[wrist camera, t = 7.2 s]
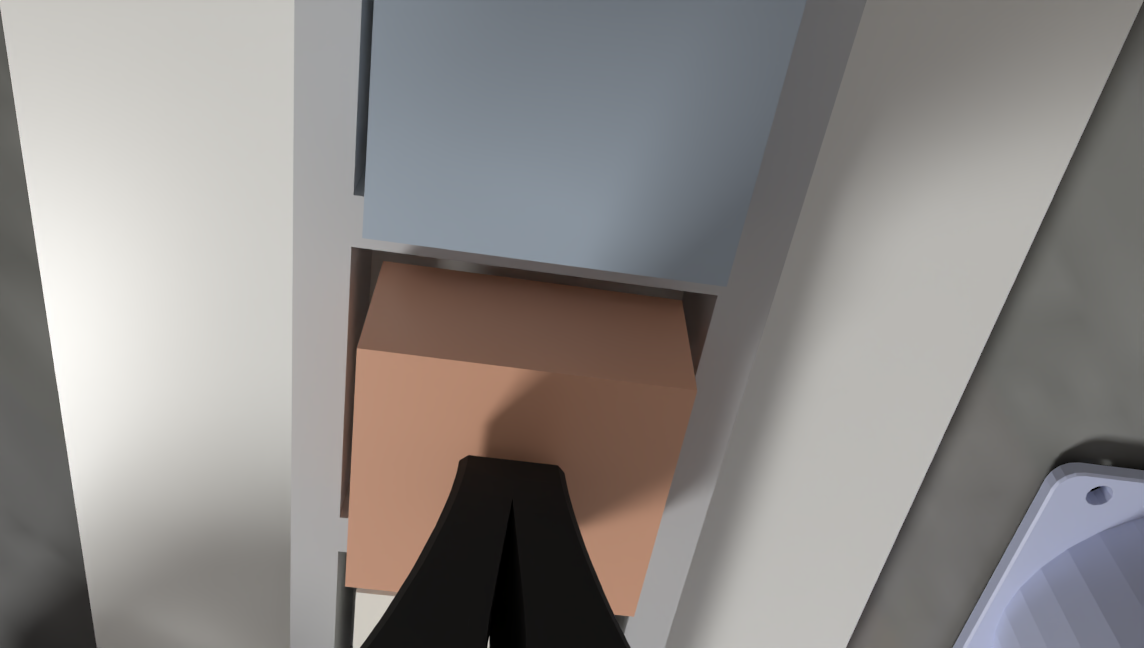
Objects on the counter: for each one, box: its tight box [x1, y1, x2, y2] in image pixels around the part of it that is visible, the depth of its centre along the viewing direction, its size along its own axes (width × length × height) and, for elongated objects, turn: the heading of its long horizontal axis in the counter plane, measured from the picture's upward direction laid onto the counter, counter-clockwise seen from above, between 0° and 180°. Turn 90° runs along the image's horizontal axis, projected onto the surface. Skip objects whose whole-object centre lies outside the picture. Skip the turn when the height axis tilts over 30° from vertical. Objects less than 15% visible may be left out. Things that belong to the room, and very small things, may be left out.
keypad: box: [0, 0, 1144, 648], centre depth 16 cm, size 16×25×3 cm, turn 171°
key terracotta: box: [345, 261, 697, 617], centre depth 15 cm, size 4×4×2 cm
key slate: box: [362, 0, 807, 287], centre depth 12 cm, size 4×4×2 cm
